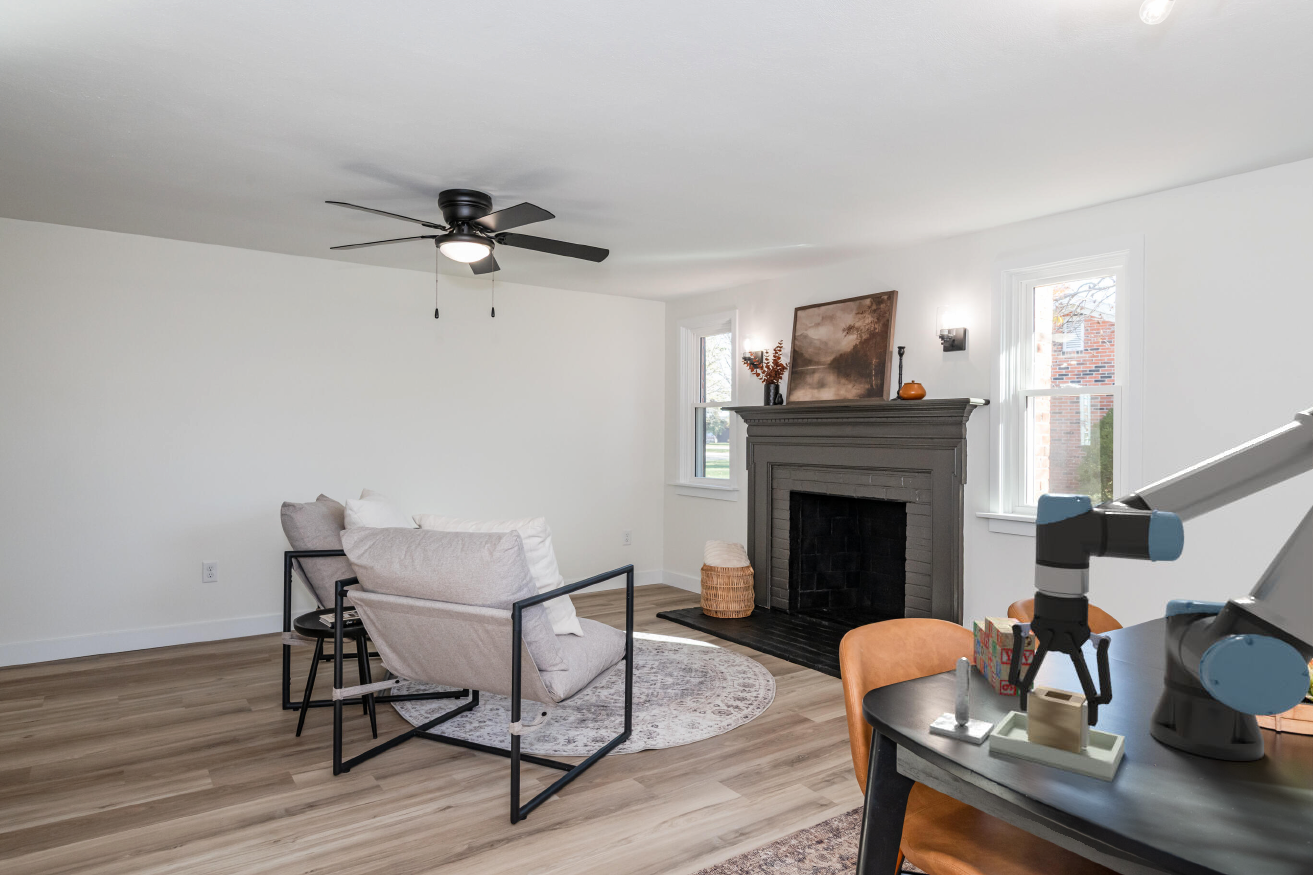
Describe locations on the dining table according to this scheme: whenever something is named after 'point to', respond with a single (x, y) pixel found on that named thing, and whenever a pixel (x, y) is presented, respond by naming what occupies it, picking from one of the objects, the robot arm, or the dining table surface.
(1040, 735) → the oak block
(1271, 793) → the dining table surface
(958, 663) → the post
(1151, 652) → the dining table surface
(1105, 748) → the tray
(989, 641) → the stack of blocks
